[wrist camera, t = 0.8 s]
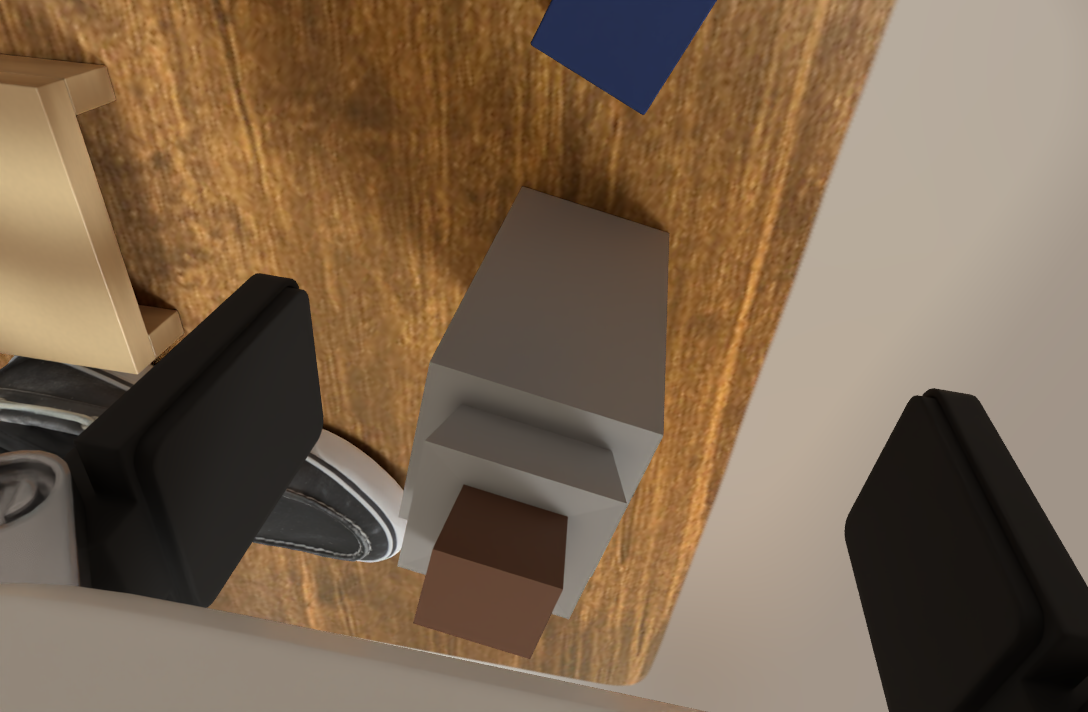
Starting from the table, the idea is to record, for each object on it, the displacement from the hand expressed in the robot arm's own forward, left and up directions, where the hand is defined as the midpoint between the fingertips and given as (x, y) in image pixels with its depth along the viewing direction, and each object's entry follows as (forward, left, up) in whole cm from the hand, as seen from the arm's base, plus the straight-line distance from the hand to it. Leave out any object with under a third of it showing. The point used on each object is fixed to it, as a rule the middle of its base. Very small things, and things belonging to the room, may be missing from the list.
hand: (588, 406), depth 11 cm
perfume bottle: (+5, -7, -20) cm, 22 cm away
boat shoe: (+3, -31, -20) cm, 37 cm away
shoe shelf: (-12, -27, -20) cm, 35 cm away
